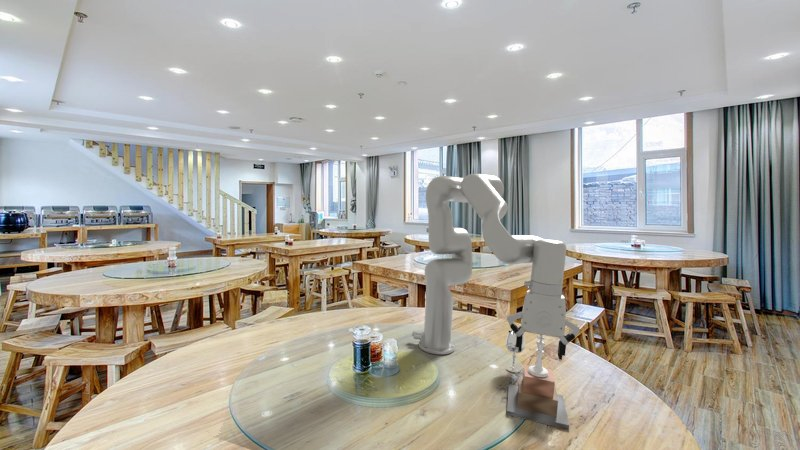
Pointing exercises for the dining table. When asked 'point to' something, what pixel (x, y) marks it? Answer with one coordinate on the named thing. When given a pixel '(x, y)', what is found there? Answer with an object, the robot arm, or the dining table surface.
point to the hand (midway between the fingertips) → (539, 353)
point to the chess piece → (539, 361)
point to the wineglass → (513, 345)
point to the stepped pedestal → (537, 400)
